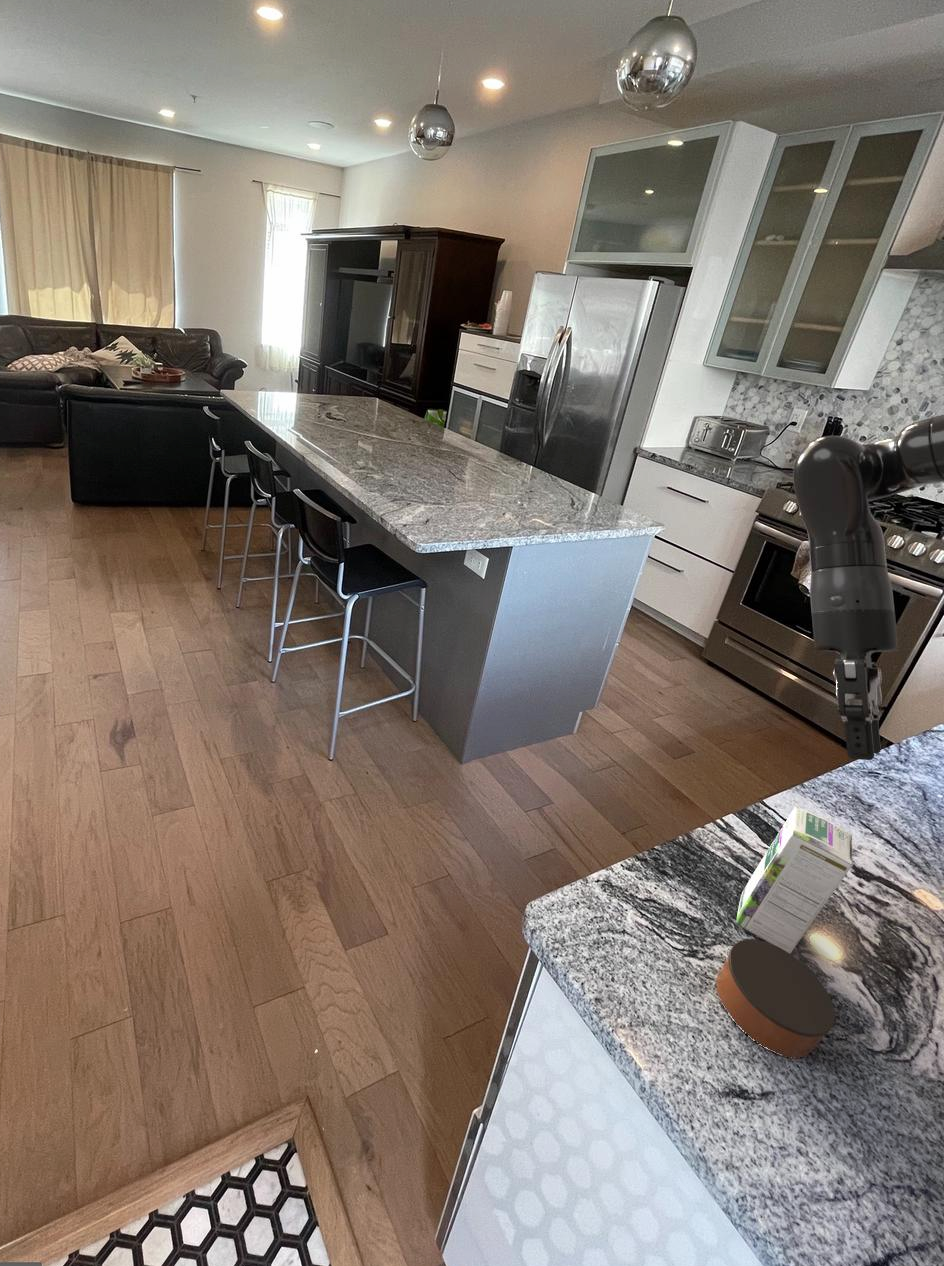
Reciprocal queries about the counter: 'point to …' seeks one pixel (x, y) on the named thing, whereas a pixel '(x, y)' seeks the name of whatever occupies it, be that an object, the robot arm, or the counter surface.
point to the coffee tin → (775, 998)
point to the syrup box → (795, 879)
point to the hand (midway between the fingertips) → (865, 755)
